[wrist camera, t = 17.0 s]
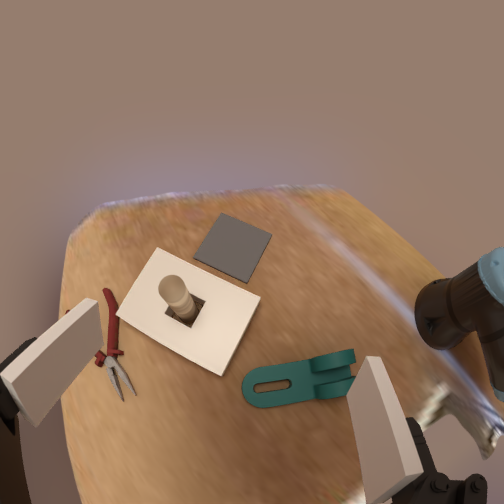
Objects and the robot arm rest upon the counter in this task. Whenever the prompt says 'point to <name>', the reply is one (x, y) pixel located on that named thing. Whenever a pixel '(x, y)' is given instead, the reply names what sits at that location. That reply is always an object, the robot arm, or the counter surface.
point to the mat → (233, 247)
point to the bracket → (302, 380)
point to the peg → (178, 298)
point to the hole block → (208, 321)
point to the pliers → (112, 347)
